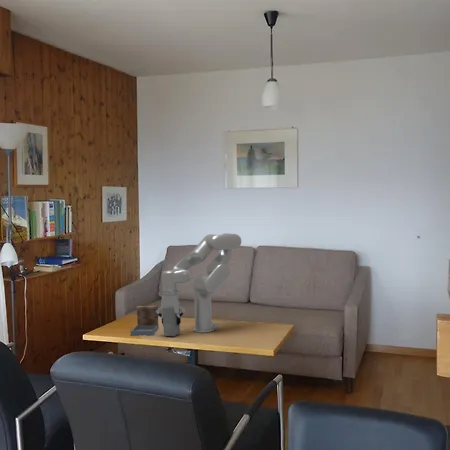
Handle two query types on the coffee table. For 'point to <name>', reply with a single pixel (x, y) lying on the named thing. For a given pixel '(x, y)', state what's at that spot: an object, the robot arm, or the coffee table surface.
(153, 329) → the blue-grey shallow tray
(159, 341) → the coffee table surface
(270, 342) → the coffee table surface
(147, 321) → the dark block on base
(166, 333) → the skincare box
